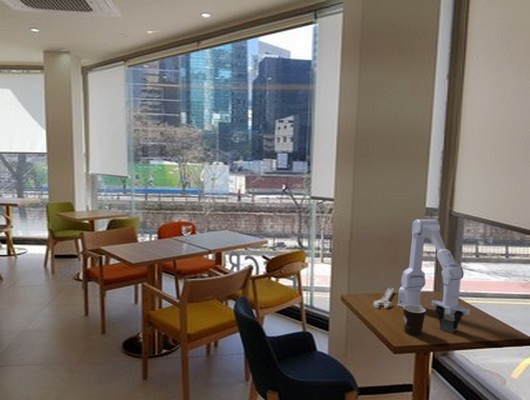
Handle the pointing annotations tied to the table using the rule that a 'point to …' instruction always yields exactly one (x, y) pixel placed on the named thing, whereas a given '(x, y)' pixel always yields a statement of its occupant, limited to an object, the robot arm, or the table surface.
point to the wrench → (384, 299)
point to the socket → (447, 324)
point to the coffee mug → (413, 319)
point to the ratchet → (449, 312)
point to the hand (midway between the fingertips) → (448, 326)
